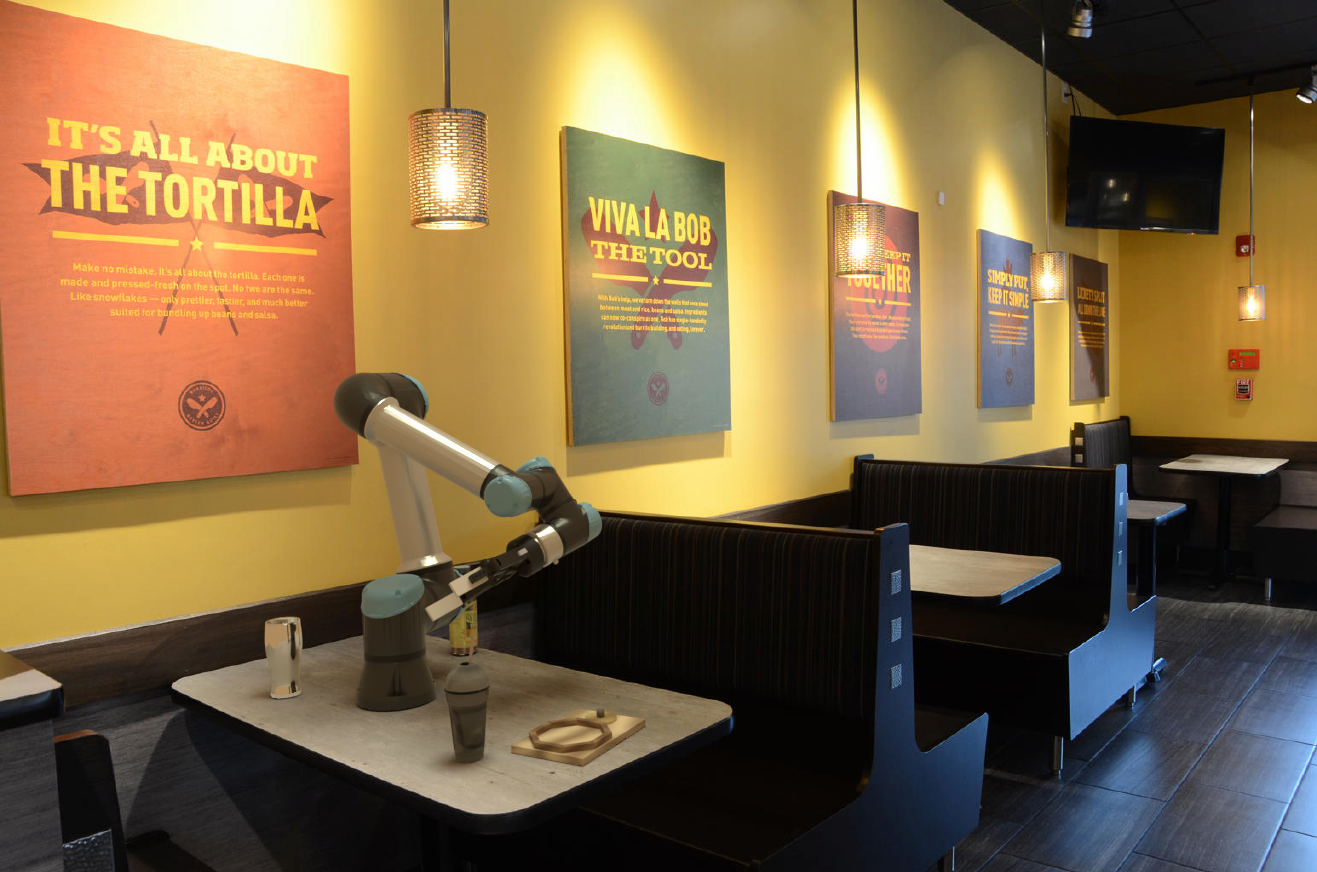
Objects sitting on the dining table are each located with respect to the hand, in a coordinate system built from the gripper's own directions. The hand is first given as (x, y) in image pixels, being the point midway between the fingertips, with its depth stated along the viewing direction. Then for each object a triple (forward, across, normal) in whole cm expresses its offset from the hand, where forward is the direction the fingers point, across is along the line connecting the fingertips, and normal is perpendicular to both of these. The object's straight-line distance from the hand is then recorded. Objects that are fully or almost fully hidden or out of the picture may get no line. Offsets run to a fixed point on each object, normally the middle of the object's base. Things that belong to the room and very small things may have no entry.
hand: (440, 602), depth 170 cm
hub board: (-6, -7, -33) cm, 34 cm away
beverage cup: (+11, -3, -25) cm, 27 cm away
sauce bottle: (-21, +51, -6) cm, 56 cm away
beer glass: (+18, +45, +5) cm, 49 cm away
